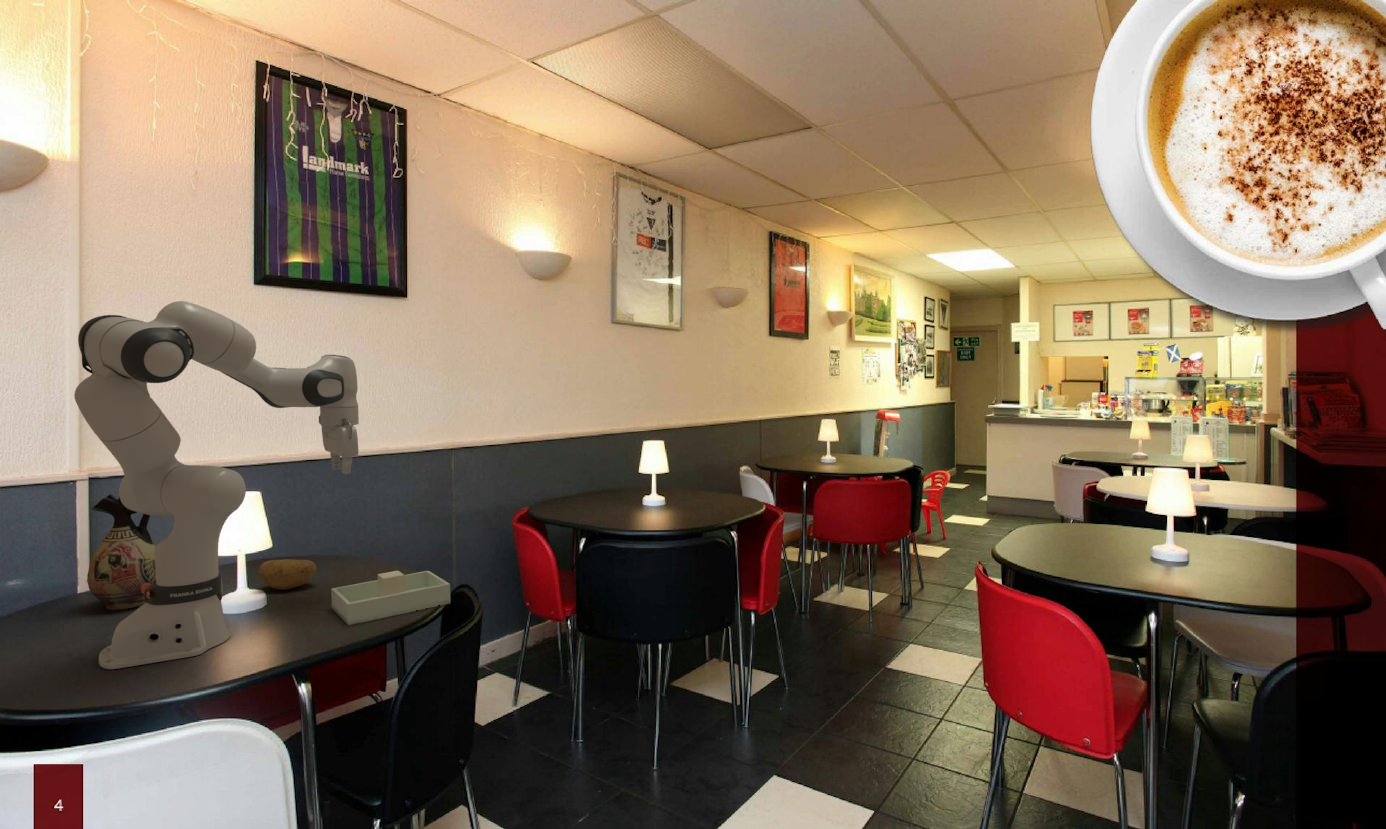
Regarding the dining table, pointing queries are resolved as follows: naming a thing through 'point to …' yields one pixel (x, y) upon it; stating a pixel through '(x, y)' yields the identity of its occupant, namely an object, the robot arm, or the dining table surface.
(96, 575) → the ceramic jug
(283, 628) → the dining table surface
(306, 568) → the potato
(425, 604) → the tote
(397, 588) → the carton
